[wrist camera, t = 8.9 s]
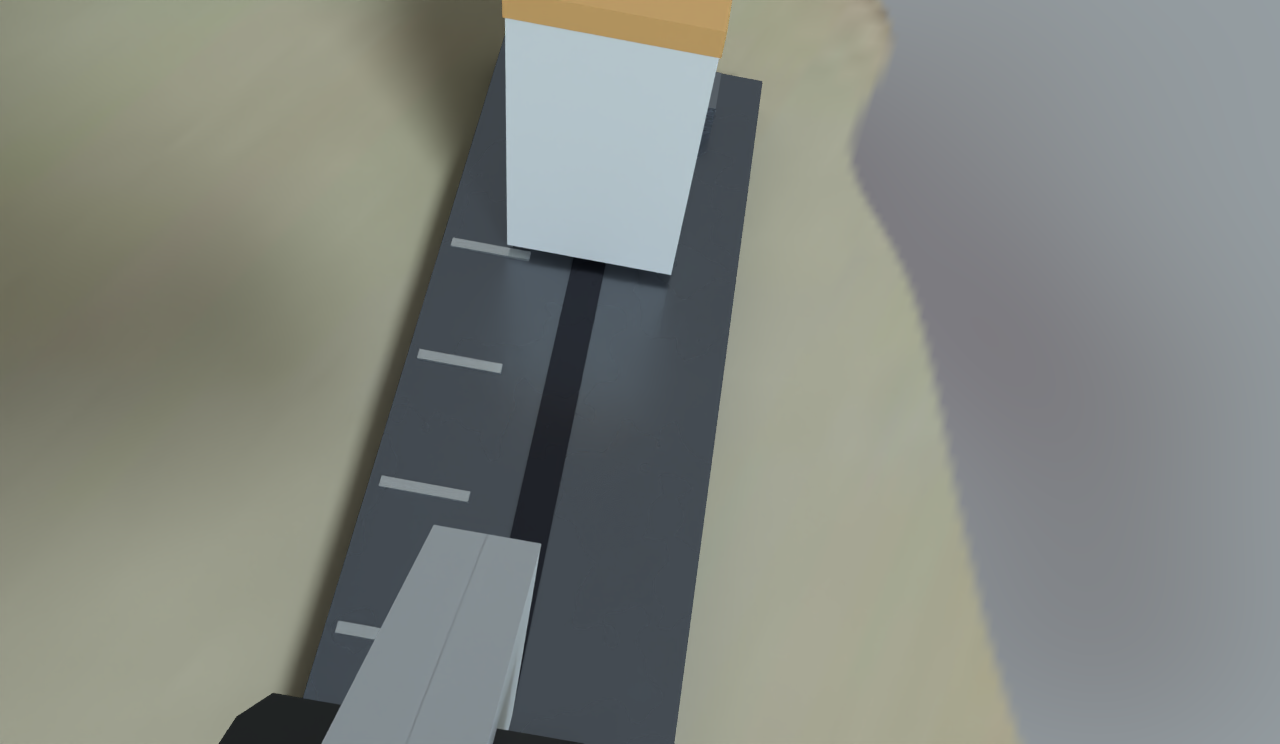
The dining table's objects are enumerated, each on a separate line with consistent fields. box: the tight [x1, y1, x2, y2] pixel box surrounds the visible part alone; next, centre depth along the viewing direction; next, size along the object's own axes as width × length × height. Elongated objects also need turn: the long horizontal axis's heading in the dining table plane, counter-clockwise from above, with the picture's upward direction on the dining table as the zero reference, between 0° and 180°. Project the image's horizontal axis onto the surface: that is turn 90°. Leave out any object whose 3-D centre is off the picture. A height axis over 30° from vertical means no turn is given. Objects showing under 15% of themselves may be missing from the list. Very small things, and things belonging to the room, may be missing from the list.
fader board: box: [303, 36, 762, 744], centre depth 31 cm, size 26×9×2 cm, turn 171°
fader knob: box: [502, 0, 732, 275], centre depth 30 cm, size 4×5×10 cm
